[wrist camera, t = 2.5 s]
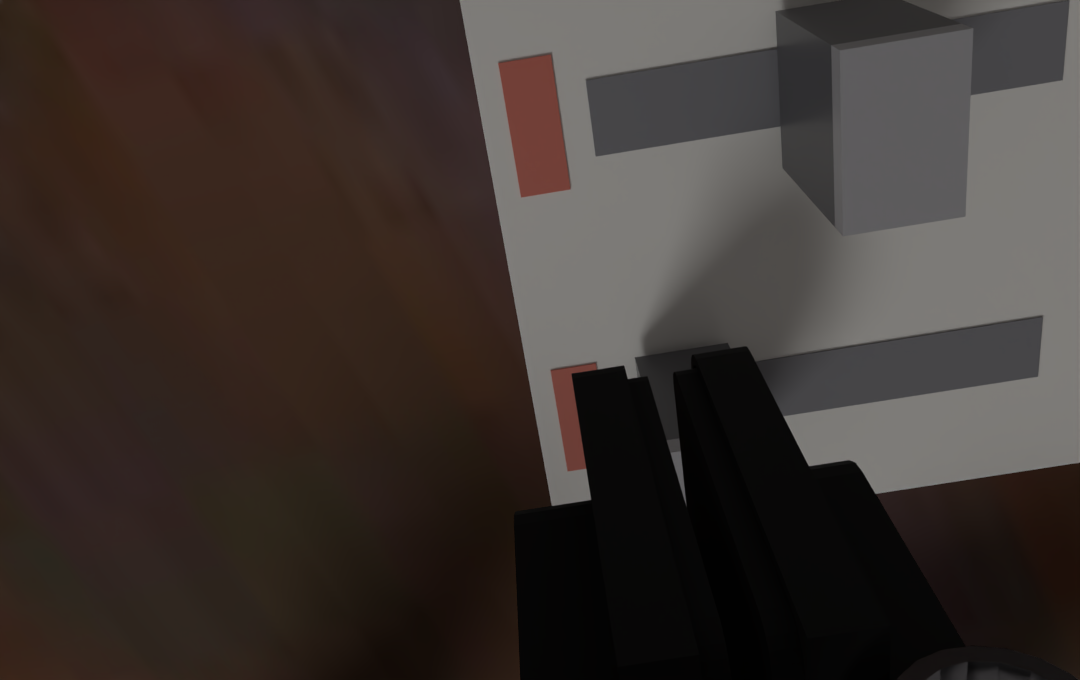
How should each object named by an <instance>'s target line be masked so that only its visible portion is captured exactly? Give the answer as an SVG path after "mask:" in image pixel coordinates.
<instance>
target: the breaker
mask: <svg viewBox="0 0 1080 680" xmlns="http://www.w3.org/2000/svg"><path fill="white" fill-rule="evenodd" d="M724 349H730V347H729V344H728V343H723V344H717V345H710V346H704V347H698V348H691V349H685V350H679V351H672V352H666V353H660V354H653V355H647V356H641V357H635V362H636V370H637V377H644V376H648V379H649V382H650V386H651V389H652V392H653V396H654V399H655V402H656V406H657V409H658V413H659V416H660V419H661V423H662V426H663V429H664V433H665V436H666V439H667V443H668V446H669V450H670V453H671V456H672V460H673V463H674V466H675V470H676V473H677V476H678V480H679V483H680V486H681V490H682V493H683V497H684V500H685V503H686V497H685V487H684V478H683V469H682V459H681V450H680V441H679V431H678V422H677V413H676V403H675V394H674V384H673V372H675V371H682V370H688V369H691V357H692V354H699V353H705V352H711V351H718V350H724ZM686 507H687V506H686Z"/></svg>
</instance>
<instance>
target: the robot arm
mask: <svg viewBox="0 0 1080 680" xmlns="http://www.w3.org/2000/svg"><path fill="white" fill-rule="evenodd" d="M571 375H572V381H573V388H574V394H575V400H576V407H577V413H578V420H579V426H580V432H581V439H582V445H583V451H584V458H585V464H586V470H587V477H588V483H589V489H590V496H591V500H588V501H581V502H575V503H568V504H562V505H555V506H549V507H542V508H536V509H529V510H523V511H516V512H515V515H514V531H515V556H516V581H517V606H518V630H519V655H520V680H1078V679H1077V678H1075V677H1074V676H1073V675H1071V674H1070V673H1068V672H1066V671H1064V670H1062V669H1060V668H1058V667H1056V666H1054V665H1052V664H1051V663H1049V662H1047V661H1045V660H1043V659H1041V658H1038V657H1034V656H1031V655H1028V654H1024V653H1021V652H1017V651H1014V650H1011V649H1007V648H996V647H985V646H965V645H964V643H963V641H962V640H961V638H960V636H959V635H958V633H957V631H956V629H955V628H954V626H953V624H952V623H951V621H950V619H949V618H948V616H947V614H946V612H945V611H944V609H943V607H942V606H941V604H940V602H939V601H938V599H937V597H936V596H935V594H934V592H933V590H932V589H931V587H930V585H929V584H928V582H927V580H926V579H925V577H924V575H923V574H922V572H921V570H920V568H919V567H918V565H917V563H916V562H915V560H914V558H913V557H912V555H911V553H910V551H909V550H908V548H907V546H906V545H905V543H904V541H903V540H902V538H901V536H900V535H899V533H898V531H897V529H896V528H895V526H894V524H893V523H892V521H891V519H890V518H889V516H888V514H887V512H886V511H885V509H884V507H883V506H882V504H881V502H880V501H879V499H878V497H877V496H876V494H875V492H874V490H873V489H872V487H871V485H870V484H869V482H868V480H867V479H866V477H865V475H864V473H863V472H862V470H861V469H860V468H859V467H858V465H857V464H856V463H855V462H853V461H851V460H846V461H840V462H833V463H827V464H820V465H814V466H808V464H807V462H806V460H805V458H804V456H803V454H802V452H801V450H800V448H799V446H798V444H797V442H796V440H795V438H794V436H793V434H792V432H791V430H790V428H789V426H788V424H787V422H786V420H785V418H784V417H783V415H782V413H781V411H780V409H779V407H778V405H777V403H776V401H775V399H774V397H773V395H772V393H771V391H770V389H769V387H768V385H767V383H766V381H765V379H764V377H763V375H762V373H761V371H760V370H759V368H758V366H757V364H756V362H755V360H754V358H753V356H752V354H751V352H750V350H749V349H748V347H747V346H743V347H737V348H730V349H724V350H718V351H711V352H705V353H699V354H692V357H691V369H688V370H682V371H675V372H673V384H674V394H675V403H676V413H677V422H678V431H679V441H680V450H681V459H682V469H683V478H684V487H685V497H686V503H685V500H684V497H683V493H682V490H681V486H680V483H679V480H678V476H677V473H676V470H675V466H674V463H673V460H672V456H671V453H670V450H669V446H668V443H667V439H666V436H665V433H664V429H663V426H662V423H661V419H660V416H659V413H658V409H657V406H656V402H655V399H654V396H653V392H652V389H651V386H650V382H649V379H648V376H644V377H637V378H631V379H628V378H627V374H626V370H625V367H624V365H623V366H616V367H610V368H604V369H597V370H591V371H585V372H579V373H572V374H571ZM686 506H687V507H686Z"/></svg>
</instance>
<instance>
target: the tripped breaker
mask: <svg viewBox="0 0 1080 680" xmlns="http://www.w3.org/2000/svg"><path fill="white" fill-rule="evenodd" d="M775 12H776V35H777V57H778V79H779V102H780V124H781V146H782V168H783V169H784V170H785V172H786V173H787V174H788V175H789V176H790V177H791V178H792V179H793V181H794V182H795V183H796V184H797V185H798V186H799V187H800V188H801V190H802V191H803V192H804V193H805V194H806V195H807V196H808V197H809V199H810V200H811V201H812V202H813V203H814V204H815V205H816V207H817V208H818V209H819V210H820V211H821V212H822V213H823V214H824V216H825V217H826V218H827V219H828V220H829V221H830V222H831V223H832V225H833V226H834V227H835V228H836V229H837V230H838V231H839V232H840V234H841V235H842V236H848V235H854V234H861V233H867V232H873V231H879V230H886V229H892V228H898V227H904V226H911V225H917V224H923V223H929V222H935V221H942V220H948V219H954V218H960V217H965V216H966V192H967V168H968V145H969V121H970V97H971V74H972V50H973V28H971V27H969V26H966V25H964V24H961V23H959V22H956V21H954V20H951V19H949V18H946V17H944V16H941V15H939V14H936V13H934V12H931V11H928V10H926V9H923V8H921V7H918V6H916V5H913V4H911V3H908V2H906V1H903V0H839V1H833V2H827V3H821V4H815V5H809V6H803V7H797V8H791V9H785V10H779V11H775Z"/></svg>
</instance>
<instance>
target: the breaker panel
mask: <svg viewBox="0 0 1080 680" xmlns="http://www.w3.org/2000/svg"><path fill="white" fill-rule="evenodd" d="M833 1H839V0H460V4H461V10H462V15H463V21H464V26H465V32H466V37H467V43H468V48H469V54H470V59H471V65H472V70H473V76H474V81H475V87H476V92H477V98H478V103H479V109H480V114H481V120H482V125H483V131H484V136H485V142H486V147H487V153H488V158H489V164H490V169H491V175H492V180H493V185H494V191H495V196H496V202H497V207H498V213H499V218H500V224H501V229H502V235H503V240H504V246H505V251H506V257H507V262H508V268H509V273H510V279H511V284H512V290H513V295H514V301H515V306H516V312H517V317H518V323H519V328H520V334H521V339H522V345H523V350H524V356H525V361H526V367H527V372H528V378H529V383H530V388H531V394H532V399H533V405H534V410H535V416H536V421H537V427H538V432H539V438H540V443H541V449H542V454H543V460H544V465H545V471H546V476H547V482H548V487H549V493H550V498H551V504H552V506H555V505H562V504H568V503H575V502H581V501H588V500H591V496H590V489H589V483H588V477H587V470H586V464H585V458H584V451H583V445H582V439H581V432H580V426H579V420H578V413H577V407H576V400H575V394H574V388H573V381H572V375H571V374H572V373H579V372H585V371H591V370H597V369H604V368H610V367H616V366H623V365H624V367H625V370H626V374H627V378H628V379H631V378H637V370H636V362H635V357H641V356H647V355H653V354H660V353H666V352H672V351H679V350H685V349H691V348H698V347H704V346H710V345H717V344H723V343H728V344H729V347H730V348H737V347H743V346H747V347H748V349H749V350H750V352H751V354H752V356H753V358H754V360H755V362H756V364H757V366H758V368H759V370H760V371H761V373H762V375H763V377H764V379H765V381H766V383H767V385H768V387H769V389H770V391H771V393H772V395H773V397H774V399H775V401H776V403H777V405H778V407H779V409H780V411H781V413H782V415H783V417H784V418H785V420H786V422H787V424H788V426H789V428H790V430H791V432H792V434H793V436H794V438H795V440H796V442H797V444H798V446H799V448H800V450H801V452H802V454H803V456H804V458H805V460H806V462H807V464H808V466H814V465H820V464H827V463H833V462H840V461H846V460H851V461H853V462H855V463H856V464H857V465H858V467H859V468H860V469H861V470H862V472H863V473H864V475H865V477H866V479H867V480H868V482H869V484H870V485H871V487H872V489H873V490H874V492H875V494H878V493H884V492H891V491H897V490H904V489H910V488H917V487H923V486H930V485H936V484H943V483H949V482H956V481H962V480H969V479H976V478H982V477H989V476H995V475H1002V474H1008V473H1015V472H1021V471H1028V470H1034V469H1041V468H1047V467H1054V466H1060V465H1067V464H1073V463H1080V0H903V1H906V2H908V3H911V4H913V5H916V6H918V7H921V8H923V9H926V10H928V11H931V12H934V13H936V14H939V15H941V16H944V17H946V18H949V19H951V20H954V21H956V22H959V23H961V24H964V25H966V26H969V27H971V28H973V50H972V74H971V97H970V121H969V145H968V168H967V192H966V216H965V217H960V218H954V219H948V220H942V221H935V222H929V223H923V224H917V225H911V226H904V227H898V228H892V229H886V230H879V231H873V232H867V233H861V234H854V235H848V236H842V235H841V234H840V232H839V231H838V230H837V229H836V228H835V227H834V226H833V225H832V223H831V222H830V221H829V220H828V219H827V218H826V217H825V216H824V214H823V213H822V212H821V211H820V210H819V209H818V208H817V207H816V205H815V204H814V203H813V202H812V201H811V200H810V199H809V197H808V196H807V195H806V194H805V193H804V192H803V191H802V190H801V188H800V187H799V186H798V185H797V184H796V183H795V182H794V181H793V179H792V178H791V177H790V176H789V175H788V174H787V173H786V172H785V170H784V169H783V168H782V146H781V124H780V102H779V79H778V57H777V35H776V12H775V11H779V10H785V9H791V8H797V7H803V6H809V5H815V4H821V3H827V2H833Z"/></svg>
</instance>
